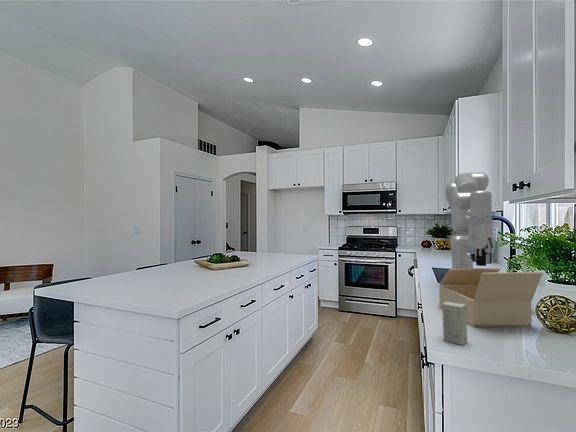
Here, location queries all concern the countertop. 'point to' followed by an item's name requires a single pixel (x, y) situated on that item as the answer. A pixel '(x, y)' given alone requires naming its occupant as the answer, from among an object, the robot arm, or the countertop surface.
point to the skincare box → (454, 322)
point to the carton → (487, 308)
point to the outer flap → (507, 286)
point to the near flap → (466, 276)
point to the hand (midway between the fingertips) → (481, 265)
